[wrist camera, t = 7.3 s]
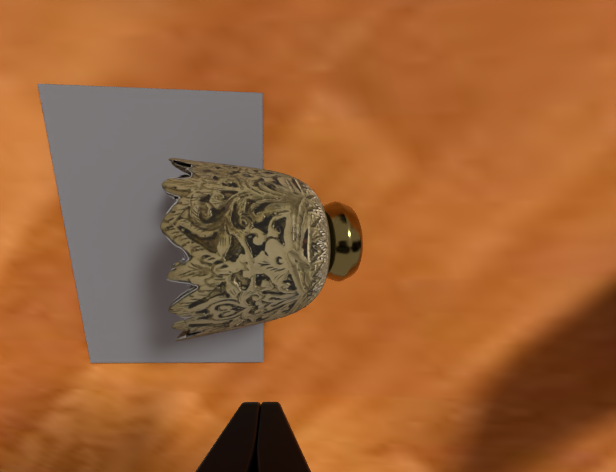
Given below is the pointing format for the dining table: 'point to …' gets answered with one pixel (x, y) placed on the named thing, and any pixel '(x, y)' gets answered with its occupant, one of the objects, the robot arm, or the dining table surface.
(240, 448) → the robot arm
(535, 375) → the dining table surface
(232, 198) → the cup
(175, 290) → the felt pad
